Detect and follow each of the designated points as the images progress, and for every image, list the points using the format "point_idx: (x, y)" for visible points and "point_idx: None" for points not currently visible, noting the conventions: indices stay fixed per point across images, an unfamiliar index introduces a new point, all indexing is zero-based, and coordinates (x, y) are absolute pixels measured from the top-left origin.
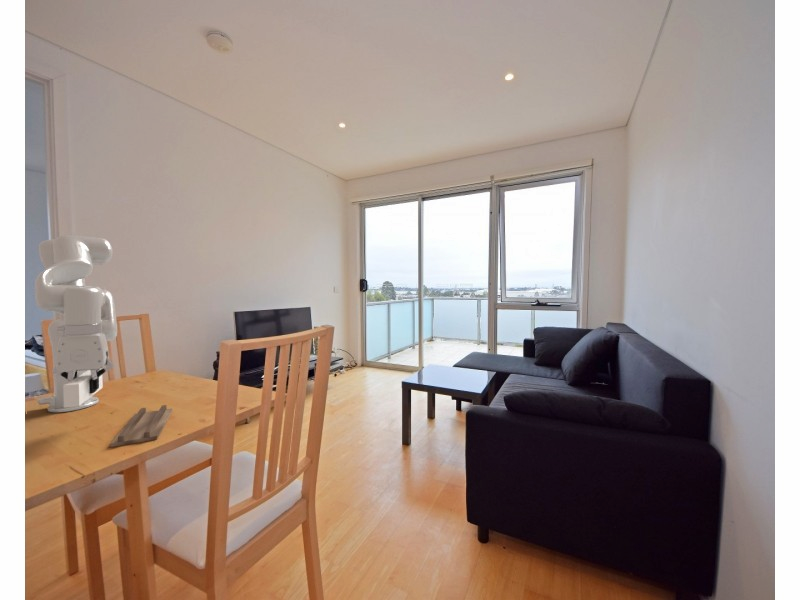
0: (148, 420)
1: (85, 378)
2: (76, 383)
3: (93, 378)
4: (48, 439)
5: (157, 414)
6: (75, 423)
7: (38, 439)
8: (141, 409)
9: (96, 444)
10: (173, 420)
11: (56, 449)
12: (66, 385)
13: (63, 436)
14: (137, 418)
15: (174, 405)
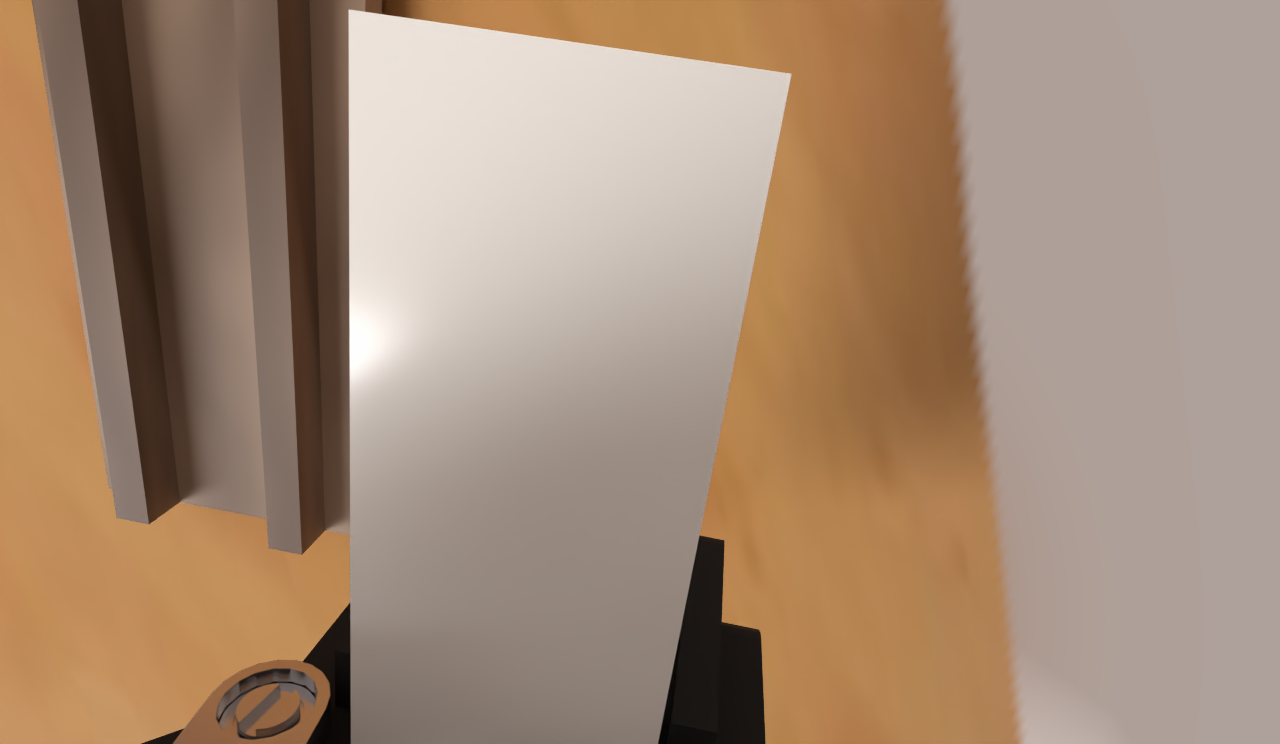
0: (209, 287)
1: (397, 655)
2: (445, 137)
3: (310, 702)
4: (897, 393)
5: (105, 287)
6: (770, 639)
7: (964, 440)
8: (289, 518)
9: (524, 13)
10: (61, 254)
11: (807, 95)
12: (703, 65)
13: (804, 395)
14: (253, 287)
15: (164, 614)
